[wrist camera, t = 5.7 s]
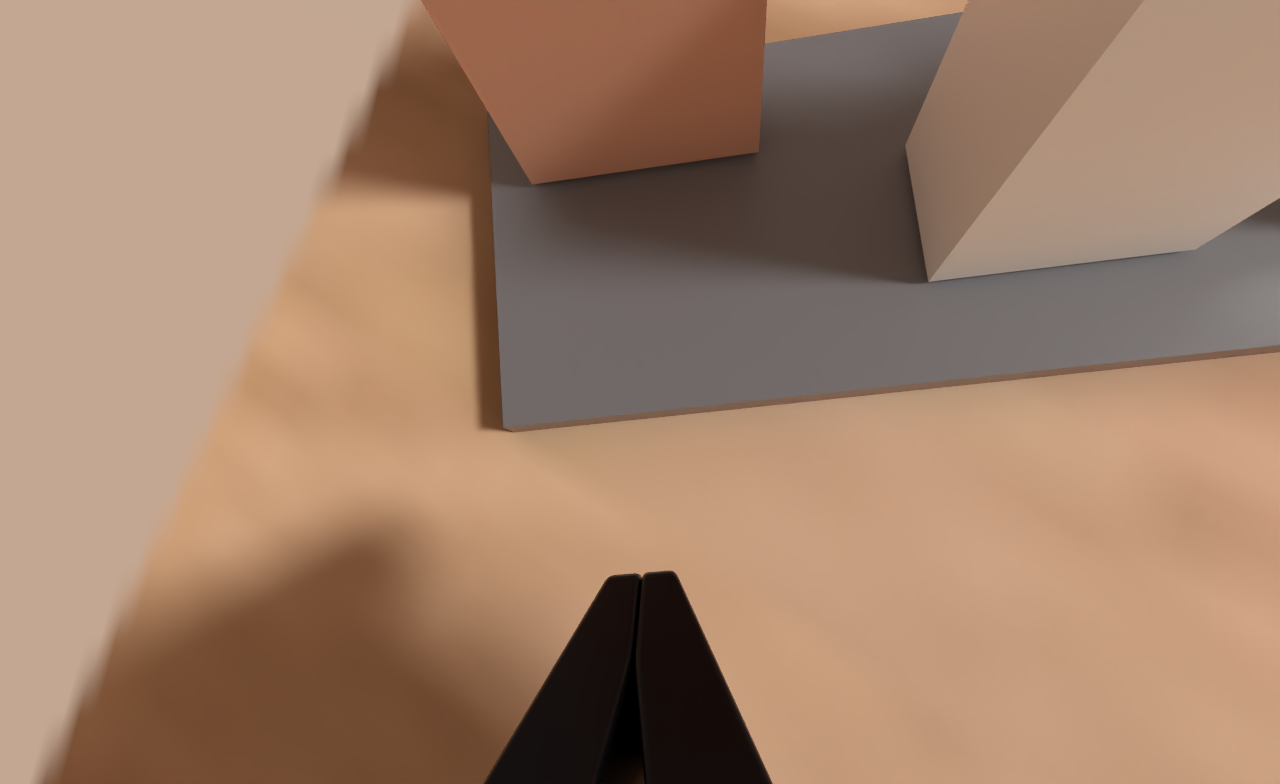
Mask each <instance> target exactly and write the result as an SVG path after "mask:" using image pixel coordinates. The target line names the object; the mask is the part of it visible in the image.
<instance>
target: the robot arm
mask: <svg viewBox="0 0 1280 784" xmlns="http://www.w3.org/2000/svg"><path fill="white" fill-rule="evenodd" d="M484 784H773V783H772V781H771V779H770V777H769V775H768V772H767V770H766V768H765V766H764V764H763V761H762V759H761V757H760V755H759V753H758V751H757V748H756V746H755V744H754V742H753V740H752V737H751V735H750V733H749V731H748V729H747V727H746V724H745V722H744V720H743V718H742V716H741V713H740V711H739V709H738V707H737V705H736V703H735V700H734V698H733V696H732V694H731V692H730V689H729V687H728V685H727V683H726V681H725V678H724V676H723V674H722V672H721V670H720V668H719V665H718V663H717V661H716V659H715V657H714V654H713V652H712V650H711V648H710V646H709V644H708V641H707V639H706V637H705V635H704V633H703V630H702V628H701V626H700V624H699V622H698V620H697V617H696V615H695V613H694V611H693V609H692V606H691V604H690V602H689V600H688V598H687V596H686V593H685V591H684V589H683V587H682V585H681V582H680V580H679V578H678V576H677V574H676V573H675V572H674V571H659V572H648V573H645V574H644V575H643V577H641V575H639V574H636V573H635V574H622V575H613V576H610V577H608V578H607V579H606V581H605V582H604V584H603V586H602V587H601V589H600V590H599V592H598V594H597V595H596V597H595V599H594V600H593V602H592V604H591V605H590V607H589V609H588V610H587V612H586V614H585V615H584V617H583V619H582V620H581V622H580V624H579V625H578V627H577V629H576V630H575V632H574V634H573V635H572V637H571V639H570V640H569V642H568V644H567V645H566V647H565V649H564V650H563V652H562V654H561V655H560V657H559V659H558V660H557V662H556V664H555V665H554V667H553V669H552V670H551V672H550V674H549V675H548V677H547V679H546V680H545V682H544V684H543V685H542V687H541V689H540V690H539V692H538V694H537V695H536V697H535V699H534V700H533V702H532V704H531V705H530V707H529V709H528V710H527V712H526V714H525V715H524V717H523V719H522V720H521V722H520V724H519V725H518V727H517V729H516V730H515V732H514V734H513V735H512V737H511V739H510V740H509V742H508V744H507V745H506V747H505V749H504V750H503V752H502V754H501V755H500V757H499V759H498V760H497V762H496V764H495V765H494V767H493V769H492V770H491V772H490V774H489V775H488V777H487V779H486V780H485V782H484Z"/></svg>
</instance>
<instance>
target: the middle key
mask: <svg viewBox="0 0 1280 784" xmlns="http://www.w3.org/2000/svg"><path fill="white" fill-rule="evenodd" d="M905 147H906V153H907V159H908V165H909V171H910V177H911V183H912V189H913V194H914V200H915V206H916V212H917V218H918V224H919V230H920V236H921V242H922V248H923V254H924V260H925V266H926V271H927V277H928V282H932V281H940V280H948V279H956V278H965V277H973V276H981V275H989V274H998V273H1006V272H1014V271H1022V270H1031V269H1039V268H1047V267H1056V266H1064V265H1072V264H1080V263H1089V262H1097V261H1105V260H1113V259H1122V258H1130V257H1138V256H1146V255H1155V254H1163V253H1171V252H1179V251H1188V250H1195V249H1197V248H1199V247H1200V246H1202V245H1204V244H1205V243H1207V242H1209V241H1210V240H1212V239H1213V238H1215V237H1217V236H1218V235H1220V234H1222V233H1223V232H1225V231H1226V230H1228V229H1230V228H1231V227H1233V226H1235V225H1236V224H1238V223H1240V222H1241V221H1243V220H1244V219H1246V218H1248V217H1249V216H1251V215H1253V214H1254V213H1256V212H1258V211H1259V210H1261V209H1262V208H1264V207H1266V206H1267V205H1269V204H1271V203H1272V202H1274V201H1276V200H1277V199H1279V198H1280V0H968V2H967V4H966V7H965V9H964V11H963V13H962V16H961V18H960V20H959V23H958V25H957V27H956V30H955V32H954V34H953V36H952V39H951V41H950V43H949V46H948V48H947V50H946V53H945V55H944V57H943V60H942V62H941V64H940V66H939V69H938V71H937V73H936V76H935V78H934V80H933V83H932V85H931V87H930V90H929V92H928V94H927V96H926V99H925V101H924V103H923V106H922V108H921V110H920V113H919V115H918V117H917V120H916V122H915V124H914V126H913V129H912V131H911V133H910V136H909V138H908V140H907V143H906V145H905Z"/></svg>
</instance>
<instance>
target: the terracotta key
mask: <svg viewBox="0 0 1280 784" xmlns="http://www.w3.org/2000/svg"><path fill="white" fill-rule="evenodd" d="M421 1H422V3H423V4H424V6H425V8H426V9H427V11H428V13H429V14H430V16H431V18H432V19H433V21H434V23H435V24H436V26H437V28H438V29H439V31H440V33H441V34H442V36H443V38H444V39H445V41H446V42H447V44H448V46H449V47H450V49H451V51H452V52H453V54H454V56H455V57H456V59H457V61H458V62H459V64H460V66H461V67H462V69H463V71H464V72H465V74H466V76H467V77H468V79H469V81H470V82H471V84H472V86H473V87H474V89H475V91H476V92H477V94H478V96H479V97H480V99H481V101H482V102H483V104H484V106H485V107H486V109H487V111H488V112H489V114H490V116H491V117H492V119H493V121H494V122H495V124H496V126H497V127H498V129H499V131H500V132H501V134H502V136H503V137H504V139H505V141H506V142H507V144H508V145H509V147H510V149H511V150H512V152H513V154H514V155H515V157H516V159H517V160H518V162H519V164H520V165H521V167H522V169H523V170H524V172H525V174H526V175H527V177H528V179H529V180H530V182H531V184H532V185H533V184H540V183H547V182H554V181H561V180H568V179H575V178H582V177H589V176H596V175H603V174H610V173H617V172H624V171H631V170H637V169H644V168H651V167H658V166H665V165H672V164H679V163H686V162H693V161H700V160H707V159H714V158H721V157H728V156H735V155H742V154H749V153H756V152H759V140H760V121H761V102H762V83H763V64H764V45H765V26H766V7H767V0H421Z"/></svg>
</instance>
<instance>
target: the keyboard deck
mask: <svg viewBox="0 0 1280 784" xmlns="http://www.w3.org/2000/svg"><path fill="white" fill-rule="evenodd" d="M962 13H963V12H961V13H955V14H948V15H942V16H936V17H930V18H923V19H917V20H911V21H905V22H898V23H892V24H886V25H880V26H873V27H867V28H861V29H855V30H848V31H842V32H836V33H830V34H823V35H817V36H811V37H805V38H798V39H792V40H786V41H780V42H773V43H767V44H765V45H764V64H763V83H762V102H761V121H760V140H759V152H756V153H749V154H742V155H735V156H728V157H721V158H714V159H707V160H700V161H693V162H686V163H679V164H672V165H665V166H658V167H651V168H644V169H637V170H631V171H624V172H617V173H610V174H603V175H596V176H589V177H582V178H575V179H568V180H561V181H554V182H547V183H540V184H533V185H532V184H531V182H530V180H529V179H528V177H527V175H526V174H525V172H524V170H523V169H522V167H521V165H520V164H519V162H518V160H517V159H516V157H515V155H514V154H513V152H512V150H511V149H510V147H509V145H508V144H507V142H506V141H505V139H504V137H503V136H502V134H501V132H500V131H499V129H498V127H497V126H496V124H495V122H494V121H493V119H492V117H491V116H490V114H489V112H488V111H487V114H488V134H489V154H490V174H491V194H492V214H493V234H494V254H495V274H496V294H497V314H498V334H499V354H500V374H501V394H502V415H503V428H506V429H508V430H510V431H513V432H522V431H531V430H541V429H550V428H560V427H569V426H579V425H588V424H598V423H607V422H617V421H626V420H636V419H645V418H655V417H664V416H674V415H683V414H693V413H702V412H712V411H721V410H731V409H740V408H750V407H759V406H769V405H778V404H788V403H797V402H807V401H816V400H826V399H835V398H845V397H854V396H864V395H873V394H883V393H892V392H902V391H911V390H921V389H930V388H940V387H950V386H959V385H969V384H978V383H988V382H997V381H1007V380H1016V379H1026V378H1035V377H1045V376H1054V375H1064V374H1073V373H1083V372H1092V371H1102V370H1111V369H1121V368H1130V367H1140V366H1149V365H1159V364H1168V363H1178V362H1187V361H1197V360H1206V359H1216V358H1225V357H1235V356H1244V355H1254V354H1263V353H1273V352H1280V198H1279V199H1277V200H1276V201H1274V202H1272V203H1271V204H1269V205H1267V206H1266V207H1264V208H1262V209H1261V210H1259V211H1258V212H1256V213H1254V214H1253V215H1251V216H1249V217H1248V218H1246V219H1244V220H1243V221H1241V222H1240V223H1238V224H1236V225H1235V226H1233V227H1231V228H1230V229H1228V230H1226V231H1225V232H1223V233H1222V234H1220V235H1218V236H1217V237H1215V238H1213V239H1212V240H1210V241H1209V242H1207V243H1205V244H1204V245H1202V246H1200V247H1199V248H1197V249H1195V250H1188V251H1179V252H1171V253H1163V254H1155V255H1146V256H1138V257H1130V258H1122V259H1113V260H1105V261H1097V262H1089V263H1080V264H1072V265H1064V266H1056V267H1047V268H1039V269H1031V270H1022V271H1014V272H1006V273H998V274H989V275H981V276H973V277H965V278H956V279H948V280H940V281H932V282H928V277H927V271H926V266H925V260H924V254H923V248H922V242H921V236H920V230H919V224H918V218H917V212H916V206H915V200H914V194H913V189H912V183H911V177H910V171H909V165H908V159H907V153H906V147H905V145H906V143H907V140H908V138H909V136H910V133H911V131H912V129H913V126H914V124H915V122H916V120H917V117H918V115H919V113H920V110H921V108H922V106H923V103H924V101H925V99H926V96H927V94H928V92H929V90H930V87H931V85H932V83H933V80H934V78H935V76H936V73H937V71H938V69H939V66H940V64H941V62H942V60H943V57H944V55H945V53H946V50H947V48H948V46H949V43H950V41H951V39H952V36H953V34H954V32H955V30H956V27H957V25H958V23H959V20H960V18H961V16H962Z"/></svg>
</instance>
